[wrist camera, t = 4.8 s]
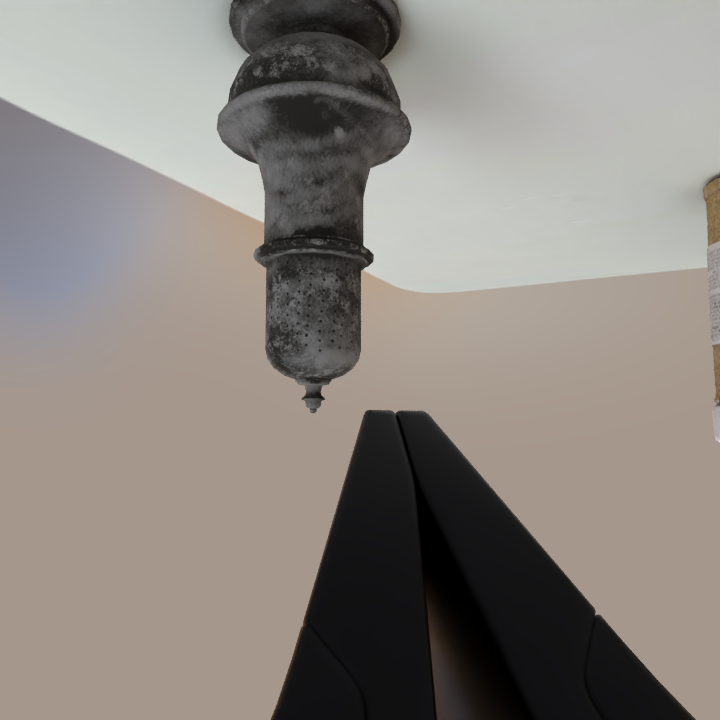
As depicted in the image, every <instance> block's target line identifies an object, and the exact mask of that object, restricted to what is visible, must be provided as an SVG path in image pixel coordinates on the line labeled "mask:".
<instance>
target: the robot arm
mask: <svg viewBox="0 0 720 720" xmlns="http://www.w3.org/2000/svg"><path fill="white" fill-rule="evenodd" d="M271 720H695V718H694V717H693V716H692V715H691V714H690V713H689V712H688V711H687V710H686V709H685V708H684V707H683V706H682V705H681V704H680V703H679V702H678V701H677V700H676V699H675V698H674V697H673V696H672V695H671V694H670V693H669V692H668V691H667V689H666V688H665V687H664V686H663V685H661V684H660V682H659V681H658V680H657V679H656V678H655V677H654V676H653V675H652V673H651V672H650V671H649V670H648V669H647V668H646V667H645V666H644V664H643V663H642V662H641V661H640V660H639V659H638V658H637V657H636V656H635V654H634V653H633V652H632V651H631V650H630V649H629V648H628V647H627V645H626V644H625V643H624V642H623V641H622V640H621V639H620V637H619V636H618V635H617V634H616V633H615V632H614V630H613V629H612V628H611V627H610V626H609V625H608V623H607V622H606V621H605V620H604V619H603V618H602V616H601V615H595V609H594V607H593V606H592V605H591V604H590V603H589V602H588V601H587V599H586V598H585V597H584V596H583V594H582V593H581V592H580V591H579V590H578V589H577V588H576V586H575V585H574V584H573V583H572V582H571V580H570V579H569V578H568V577H567V576H566V575H565V574H564V572H563V571H562V570H561V569H560V568H559V566H558V565H557V564H556V563H555V562H554V561H553V559H552V558H551V557H550V556H549V555H548V554H547V552H546V551H545V550H544V549H543V548H542V546H541V545H540V544H539V543H538V542H537V541H536V539H535V538H534V537H533V536H532V535H531V534H530V533H529V531H528V530H527V529H526V528H525V527H524V526H523V524H522V523H521V522H520V521H519V520H518V518H517V517H516V516H515V515H514V514H513V513H512V512H511V510H510V509H509V508H508V507H507V506H506V504H505V503H504V502H503V501H502V500H501V499H500V497H499V496H498V495H497V494H496V493H495V491H494V490H493V489H492V488H491V487H490V486H489V484H488V483H487V482H486V481H485V480H484V479H483V477H482V476H481V475H480V474H479V473H478V472H477V470H476V469H475V468H474V467H473V466H472V465H471V463H470V462H469V461H468V460H467V459H466V458H465V456H464V455H463V454H462V453H461V452H460V451H459V449H458V448H457V447H456V446H455V445H454V444H453V442H452V441H451V440H450V439H449V438H448V436H447V435H446V434H445V433H444V432H443V431H442V429H441V428H440V427H439V426H438V425H437V424H436V422H435V421H434V420H433V419H432V418H431V417H430V416H429V414H427V413H426V412H424V411H398V412H397V413H396V414H395V413H394V412H393V411H391V410H368V411H366V412H365V414H364V417H363V420H362V423H361V426H360V430H359V433H358V437H357V440H356V444H355V447H354V450H353V454H352V457H351V461H350V464H349V467H348V471H347V474H346V478H345V481H344V484H343V488H342V491H341V495H340V498H339V501H338V505H337V508H336V512H335V515H334V518H333V522H332V525H331V529H330V532H329V536H328V539H327V543H326V546H325V550H324V553H323V556H322V560H321V563H320V567H319V570H318V573H317V577H316V580H315V583H314V587H313V590H312V594H311V597H310V600H309V604H308V607H307V611H306V614H305V617H304V622H303V627H301V630H300V633H299V637H298V640H297V643H296V647H295V650H294V654H293V657H292V660H291V663H290V666H289V669H288V673H287V675H286V679H285V681H284V685H283V687H282V690H281V694H280V697H279V700H278V703H277V705H276V708H275V710H274V713H273V715H272V718H271Z"/></svg>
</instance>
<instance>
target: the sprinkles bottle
mask: <svg viewBox="0 0 720 720" xmlns="http://www.w3.org/2000/svg"><path fill="white" fill-rule="evenodd" d="M703 193H704V199H705V201H706V207H707V222H708V227H707V228H708V249H707V261H708V278H709V299H710V318H711V339H712V347H713V352H714V353H713V354H714V364H715V365H714V371H715V385H716V398H715V399H714V401H715V402H716V403H717V405H716V406H715V407H714V408H713V424H714V436H715V439H716V440H717V441H718V442H720V178H718V179H716V180H714V181H712V182H710V183H709V184H708V185H707V186H706V187H705V188H704V189H703Z"/></svg>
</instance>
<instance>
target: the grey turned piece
mask: <svg viewBox="0 0 720 720" xmlns="http://www.w3.org/2000/svg"><path fill="white" fill-rule="evenodd" d="M229 24H230V27H231V30H232V34H233V37H234V38H235V39H236V41H237V42H238V43H239V45H240V46H241V47H242V49H244V50H245V51H246V52H247V53H249V54H250V56H249V57H248V58H247V59H246V60H245V62H244V63H243V64H242V66H241V67H240V69H239V71H238V73H237V75H236V78H235V80H234V82H233V84H232V86H231V88H230V94H229V100H228V103H227V105H226V106H225V107H224V108H223V110H222V111H221V112H220V113H219V115H218V123H217V131H218V133H219V135H220V138H221V140H222V141H223V143H224V144H225V145H226V146H228V147H229V148H230V149H231V150H232V151H233V152H234V153H235V154H237V155H239V156H241V157H243V158H244V159H246V160H248V161H250V162H253V163H256V164H259V168H260V172H261V175H262V180H263V185H264V190H265V232H264V234H265V236H264V244H263V245H262V246H260V247H259V248H257V249H256V250H255V252H254V258H255V260H256V261H257V262H258V263H260V264H261V265H262V266H264V267H266V268H267V273H266V346H265V348H266V354H267V359H268V360H269V362H270V363H271V365H272V366H273V367H274V368H275V369H276V370H278V371H279V372H280V373H282V374H283V375H285V376H288V377H291V378H293V379H296V381H297V383H298V384H300V385H304V386H305V389H306V395H305V396H304V397H303V398H302V400H304V401H306V406H307V407H308V408H310V412H311V413H315V412H316V410H317V408H319V407H320V406H321V401H322V400H325V399H324V397H323V396H321V388H322V386H323V385H327V384H329V382H330V381H331V379H334V378H337V377H340V376H343V375H344V374H346V373H347V372H349V371H350V370H351V369H352V368H353V367H354V366H355V365H356V363H357V362H358V360H359V356H360V352H361V270H363V269H364V268H365V267H367V266H369V265H370V264H371V263H372V262H373V258H374V255H373V254H372V253H371V252H370V251H369V249H367V248H365V247H364V246H363V197H364V192H365V187H366V182H367V179H368V175H369V171H370V168H372V167H374V166H377V165H380V164H382V163H385V162H387V161H389V160H390V159H392V158H394V157H395V156H397V155H398V154H400V152H401V151H402V150H403V149H404V148H405V146H406V145H407V144H408V143H409V140H410V135H411V126H410V123H409V120H408V118H407V116H406V115H405V114H404V113H403V112H402V111H401V110H400V99H399V96H398V94H397V91H396V89H395V86H394V84H393V81H392V79H391V77H390V74H389V72H388V70H387V68H386V67H385V66H384V65H383V64H382V63H381V62H380V60H381V59H382V58H384V57H385V56H386V55H387V54H388V53H389V52H390V51H391V50H392V49H393V47H394V46H395V44H396V42H397V40H398V39H399V34H400V26H401V20H400V16H399V13H398V10H397V6H396V5H395V4H394V2H393V1H392V0H234V1H233V2H232V4H231V9H230V17H229Z"/></svg>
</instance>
